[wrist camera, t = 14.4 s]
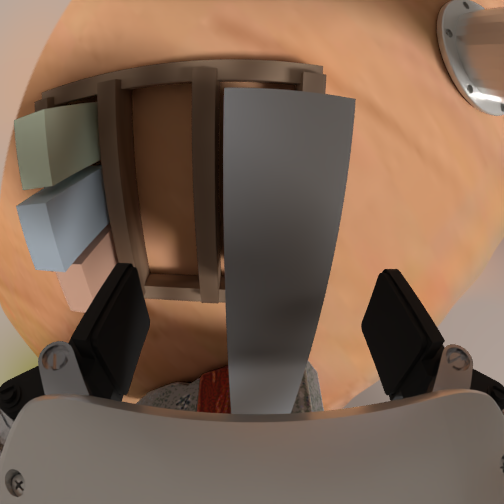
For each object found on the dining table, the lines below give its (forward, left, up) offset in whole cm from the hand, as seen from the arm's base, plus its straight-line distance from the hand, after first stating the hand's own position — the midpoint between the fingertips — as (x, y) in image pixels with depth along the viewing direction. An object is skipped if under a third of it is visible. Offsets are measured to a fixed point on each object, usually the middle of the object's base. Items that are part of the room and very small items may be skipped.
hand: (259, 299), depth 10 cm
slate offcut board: (+14, 0, -13) cm, 19 cm away
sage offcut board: (+14, -5, -13) cm, 20 cm away
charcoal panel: (0, 0, -13) cm, 13 cm away
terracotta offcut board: (+14, +6, -13) cm, 20 cm away
